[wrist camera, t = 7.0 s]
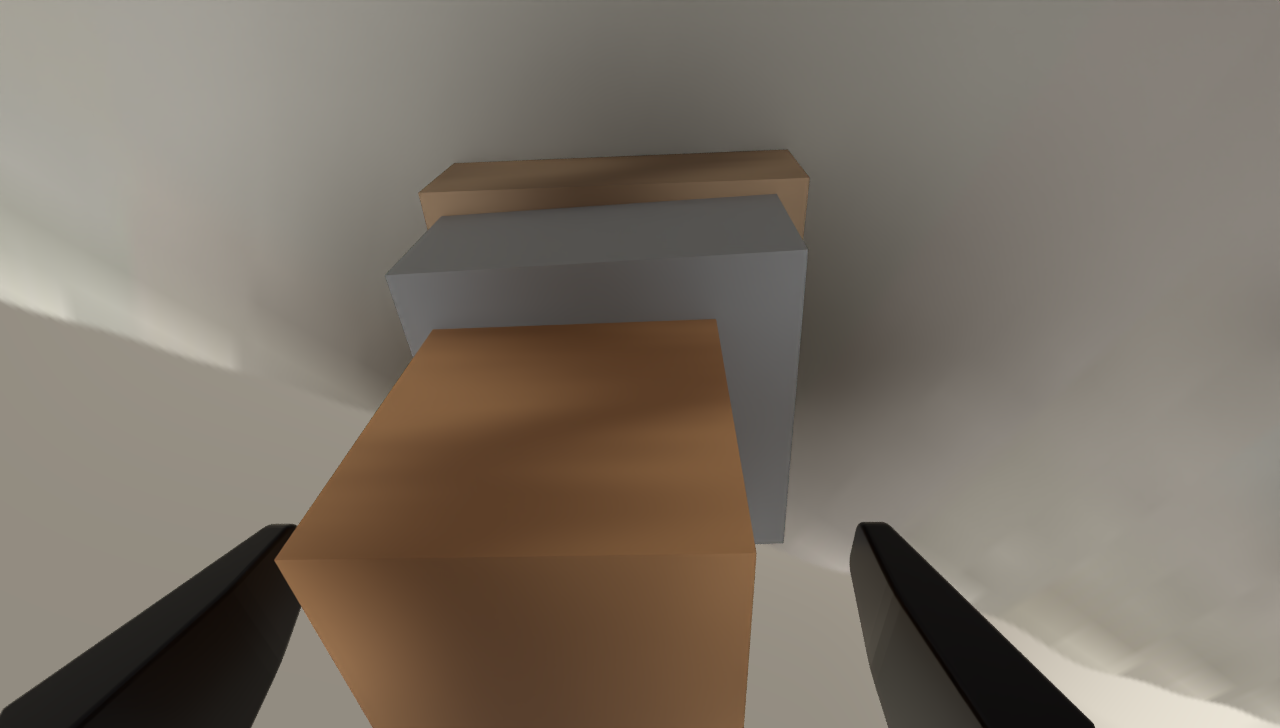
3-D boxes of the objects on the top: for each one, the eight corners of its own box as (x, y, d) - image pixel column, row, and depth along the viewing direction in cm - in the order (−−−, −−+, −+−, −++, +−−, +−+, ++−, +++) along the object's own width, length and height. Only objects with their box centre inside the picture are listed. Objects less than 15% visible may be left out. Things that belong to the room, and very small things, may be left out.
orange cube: (715, 318, 10) (756, 553, 6) (713, 521, 13) (739, 783, 8) (433, 329, 10) (274, 560, 6) (488, 526, 13) (404, 781, 9)
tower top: (776, 193, 12) (808, 249, 9) (763, 453, 16) (783, 543, 13) (441, 216, 12) (384, 275, 10) (507, 463, 16) (479, 551, 14)
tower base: (783, 144, 14) (809, 177, 12) (761, 407, 18) (777, 473, 16) (460, 157, 15) (418, 192, 12) (513, 411, 19) (490, 476, 16)
